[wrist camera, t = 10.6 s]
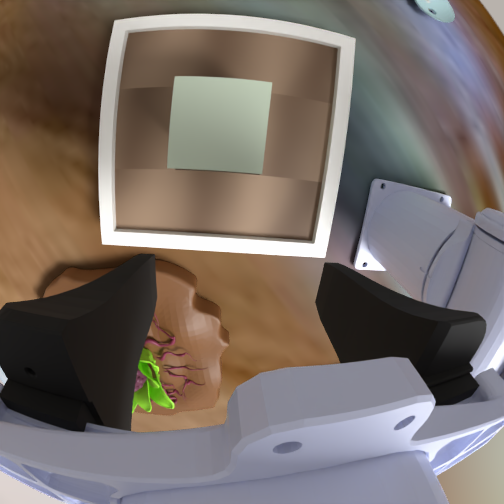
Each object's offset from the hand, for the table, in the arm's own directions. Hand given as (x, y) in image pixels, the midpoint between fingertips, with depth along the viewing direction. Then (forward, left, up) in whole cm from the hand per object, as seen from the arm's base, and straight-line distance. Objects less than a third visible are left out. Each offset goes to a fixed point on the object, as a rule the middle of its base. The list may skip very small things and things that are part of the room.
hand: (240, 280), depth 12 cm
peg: (+1, -6, -10) cm, 11 cm away
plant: (+9, +15, -11) cm, 21 cm away
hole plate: (+1, -6, -10) cm, 12 cm away
